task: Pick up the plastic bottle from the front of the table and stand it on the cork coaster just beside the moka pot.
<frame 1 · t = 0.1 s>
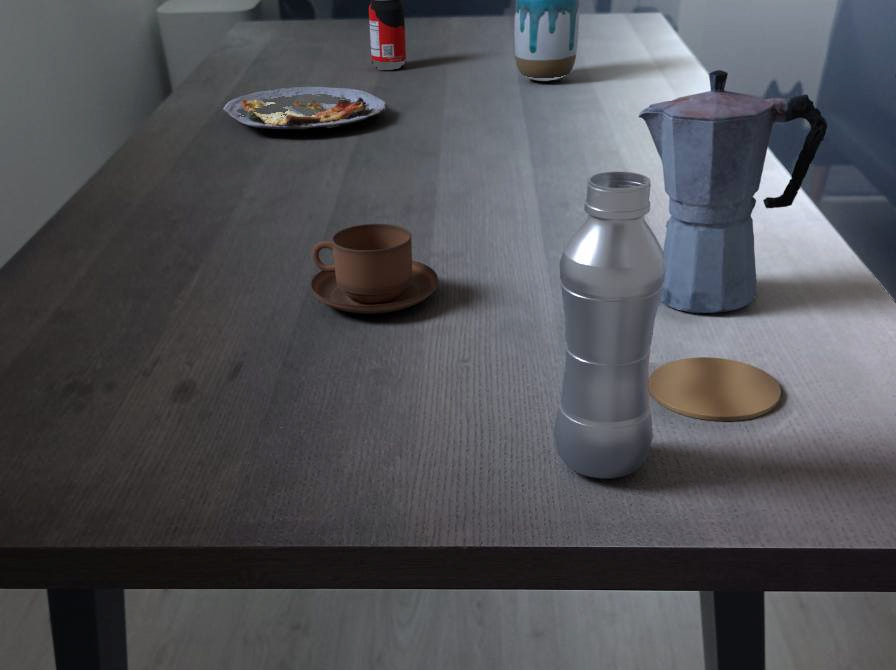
coaster: (713, 389, 81), on the table
vase: (545, 81, 176), on the table
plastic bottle: (600, 467, 73), on the table
cup and saucer: (375, 301, 99), on the table
moka pot: (708, 299, 97), on the table
food plate: (306, 121, 159), on the table
beverage can: (389, 69, 190), on the table
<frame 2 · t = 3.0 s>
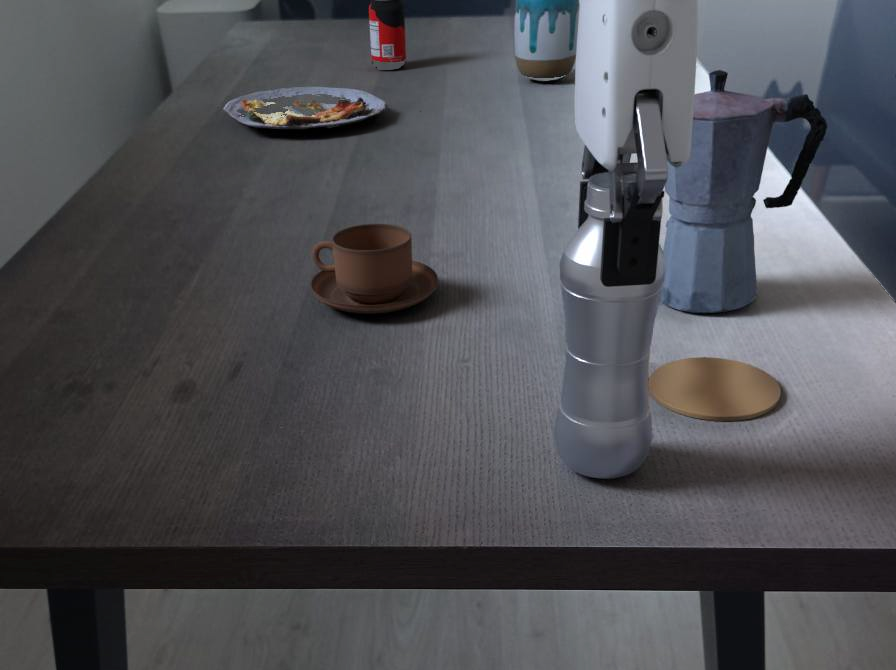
hand: (614, 259, 64), 15 cm above the table, tool pointing down, fingers closed on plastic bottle, 6 cm apart
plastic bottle: (600, 467, 73), on the table, touching gripper
everything else where it was.
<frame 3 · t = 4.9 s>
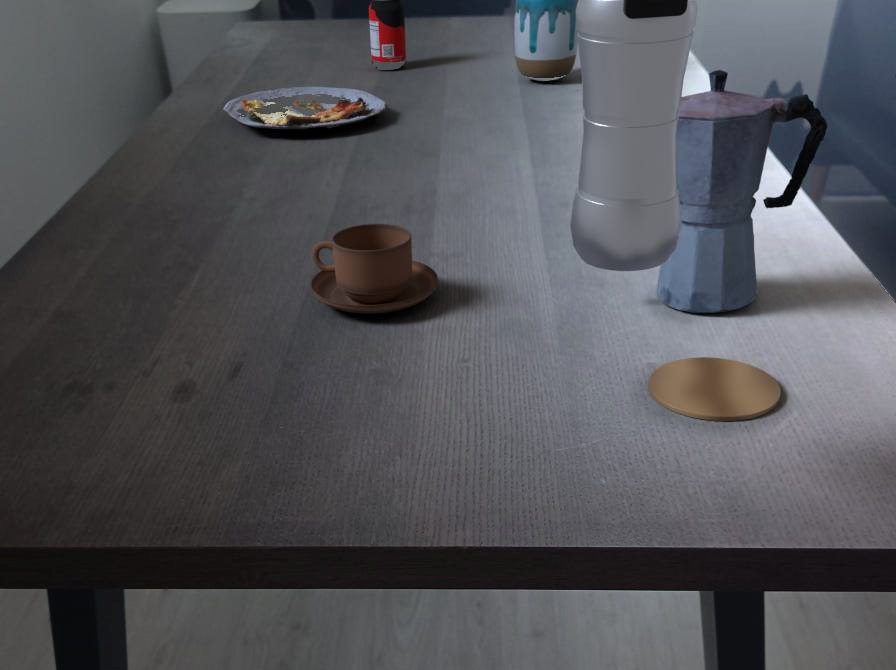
hand: (638, 2, 57), 30 cm above the table, tool pointing down, fingers closed on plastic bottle, 6 cm apart
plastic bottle: (622, 266, 65), point 14 cm above the table, touching gripper
everything else where it was.
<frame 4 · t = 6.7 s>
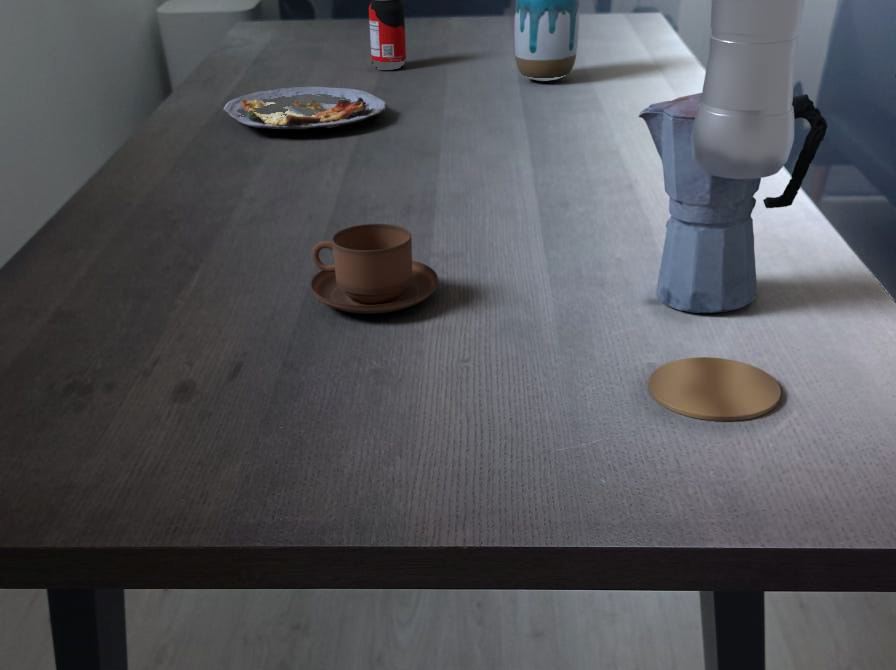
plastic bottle: (736, 178, 72), point 17 cm above the table, touching gripper
everything else where it was.
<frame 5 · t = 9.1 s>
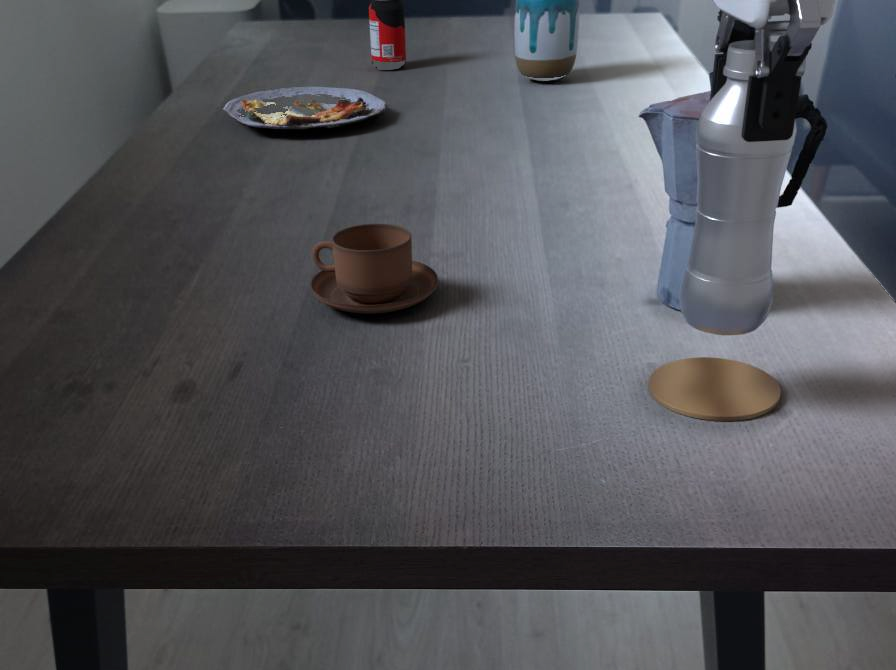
hand: (748, 123, 70), 20 cm above the table, tool pointing down, fingers closed on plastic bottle, 6 cm apart
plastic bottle: (720, 330, 78), point 5 cm above the table, touching gripper
everything else where it was.
when the fingers open (15 cm above the table, at t = 10.8 s): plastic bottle stays where it is, resting on coaster.
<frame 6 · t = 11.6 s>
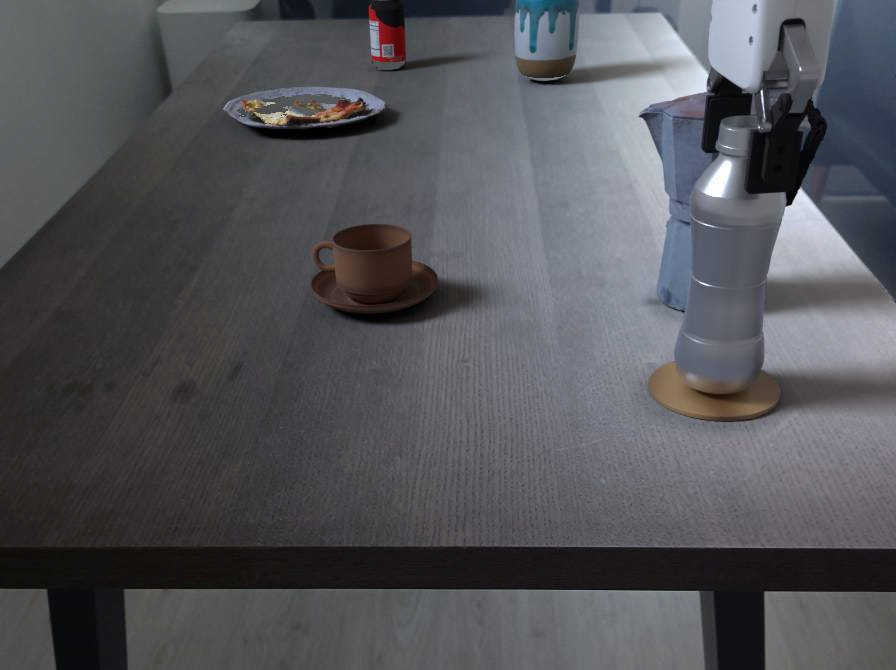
hand: (744, 170, 72), 17 cm above the table, tool pointing down, fingers open, 9 cm apart
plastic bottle: (714, 387, 81), resting on coaster
everything else where it was.
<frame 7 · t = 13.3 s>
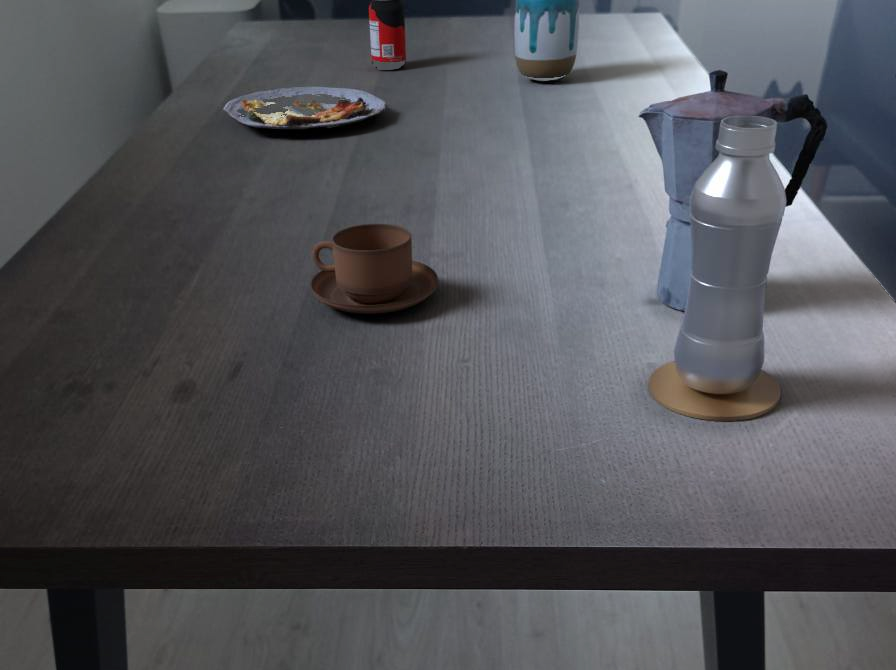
nothing on the table moved.
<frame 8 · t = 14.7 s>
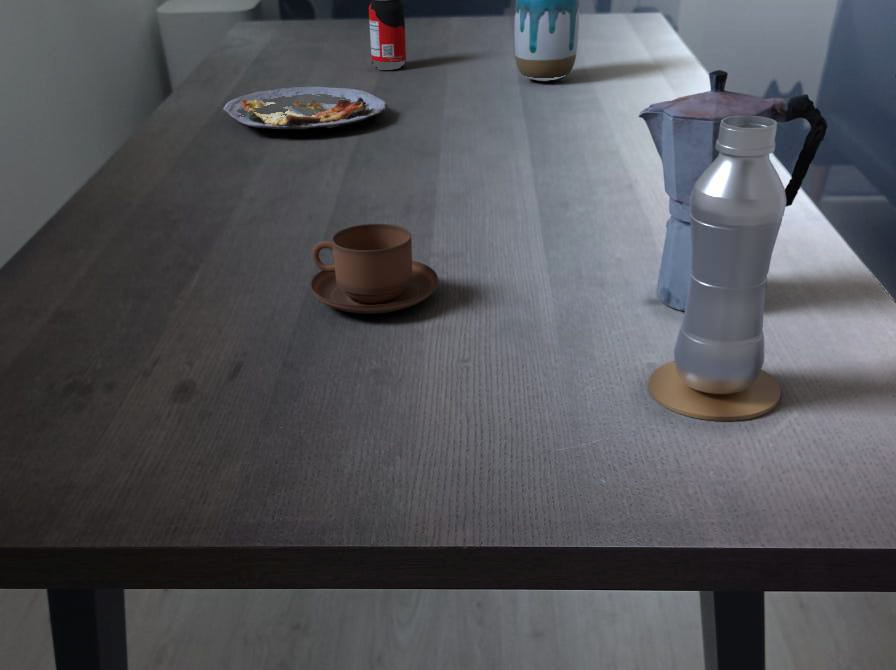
nothing on the table moved.
at the end: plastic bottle inside the target area on the table beside the moka pot (1.0 cm from its centre), resting on coaster; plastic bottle tilted 0°; moka pot moved 0.2 cm from its start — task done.
